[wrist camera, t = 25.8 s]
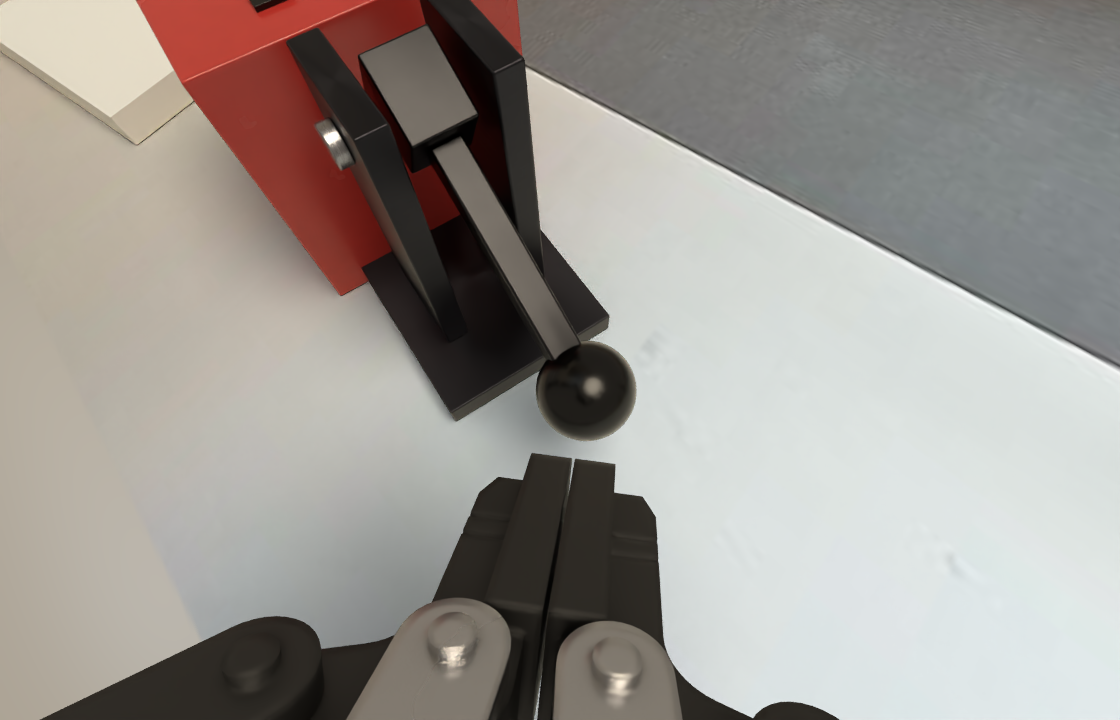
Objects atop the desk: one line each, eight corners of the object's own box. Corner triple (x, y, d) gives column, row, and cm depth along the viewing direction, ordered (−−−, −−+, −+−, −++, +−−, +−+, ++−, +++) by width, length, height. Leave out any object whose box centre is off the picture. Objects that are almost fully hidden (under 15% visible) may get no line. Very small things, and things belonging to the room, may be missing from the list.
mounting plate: (336, 28, 35) (324, -3, 33) (166, 165, 31) (141, 138, 29) (149, -72, 39) (129, -103, 37) (-21, 37, 35) (-52, 6, 33)
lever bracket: (608, 328, 26) (635, 97, 14) (456, 422, 24) (346, 249, 13) (495, 185, 30) (443, -95, 18) (356, 259, 28) (196, 5, 16)
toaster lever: (632, 402, 20) (670, 411, 17) (557, 451, 20) (583, 469, 17) (439, 64, 19) (444, 6, 15) (350, 106, 18) (337, 53, 15)
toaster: (536, 191, 29) (511, -68, 18) (340, 296, 27) (175, 76, 16) (442, 77, 33) (372, -199, 22) (262, 162, 31) (81, -96, 19)
